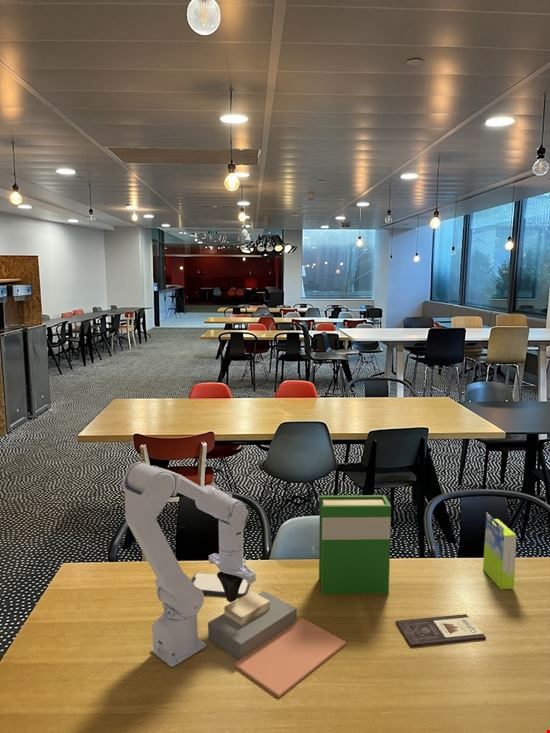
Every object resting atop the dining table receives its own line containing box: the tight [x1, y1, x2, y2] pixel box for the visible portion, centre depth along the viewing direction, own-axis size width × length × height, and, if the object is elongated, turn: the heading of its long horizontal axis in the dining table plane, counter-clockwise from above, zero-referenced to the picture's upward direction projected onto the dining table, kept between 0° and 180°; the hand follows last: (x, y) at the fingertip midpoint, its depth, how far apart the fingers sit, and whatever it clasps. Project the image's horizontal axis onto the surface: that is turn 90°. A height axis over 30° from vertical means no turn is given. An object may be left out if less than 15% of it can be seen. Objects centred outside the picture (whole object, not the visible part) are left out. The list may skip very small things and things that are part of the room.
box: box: [482, 512, 517, 590], centre depth 146 cm, size 10×4×17 cm, turn 4°
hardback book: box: [318, 494, 392, 595], centre depth 142 cm, size 18×7×24 cm, turn 91°
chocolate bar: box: [395, 613, 487, 648], centre depth 125 cm, size 9×1×18 cm
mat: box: [233, 617, 347, 698], centre depth 116 cm, size 22×13×1 cm, turn 136°
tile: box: [223, 591, 270, 626], centre depth 125 cm, size 9×6×2 cm, turn 136°
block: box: [207, 590, 298, 661], centre depth 124 cm, size 18×11×4 cm, turn 136°
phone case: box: [190, 572, 251, 598], centre depth 144 cm, size 9×2×16 cm
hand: (231, 600), depth 129 cm, fingers closed
